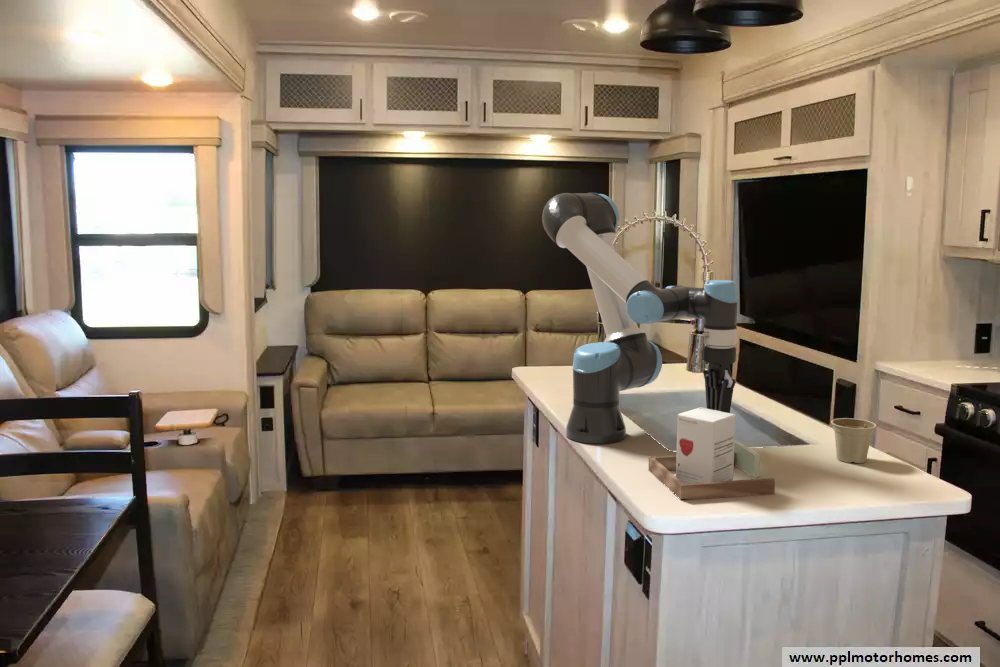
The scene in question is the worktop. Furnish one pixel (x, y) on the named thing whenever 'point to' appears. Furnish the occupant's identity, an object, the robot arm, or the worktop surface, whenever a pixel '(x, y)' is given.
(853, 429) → the flower pot
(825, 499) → the worktop surface
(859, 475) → the worktop surface
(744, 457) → the green piece
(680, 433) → the supplement box
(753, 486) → the housing
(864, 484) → the worktop surface
